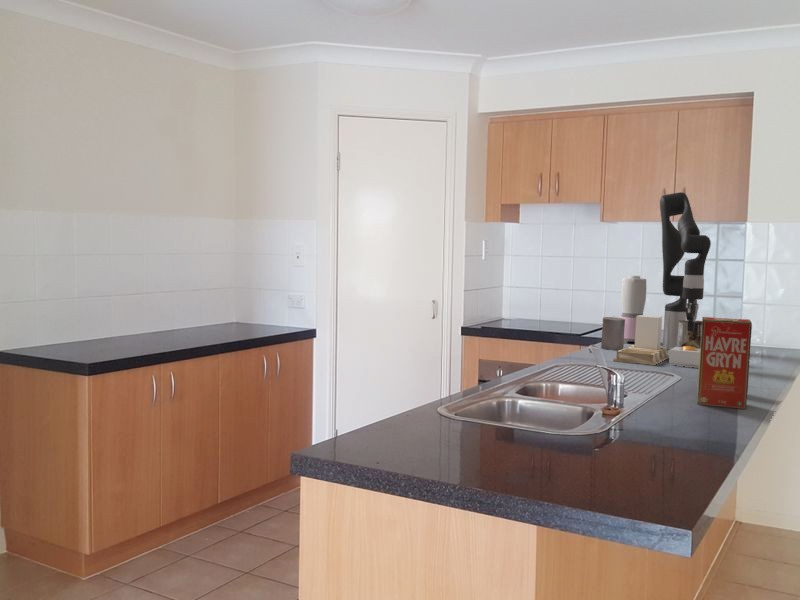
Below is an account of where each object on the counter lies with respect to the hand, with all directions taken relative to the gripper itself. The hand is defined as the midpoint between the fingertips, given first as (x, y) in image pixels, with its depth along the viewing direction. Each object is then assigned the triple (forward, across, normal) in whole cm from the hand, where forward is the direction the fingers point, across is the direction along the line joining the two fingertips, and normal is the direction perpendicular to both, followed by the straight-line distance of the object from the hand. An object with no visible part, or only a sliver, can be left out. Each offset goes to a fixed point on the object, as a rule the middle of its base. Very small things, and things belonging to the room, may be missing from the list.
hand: (690, 331), depth 294 cm
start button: (+11, 0, 0) cm, 11 cm away
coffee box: (+14, -14, -2) cm, 19 cm away
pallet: (+13, -2, -18) cm, 23 cm away
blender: (+14, -57, -37) cm, 69 cm away
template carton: (+14, -9, -18) cm, 24 cm away
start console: (+13, 0, 0) cm, 13 cm away
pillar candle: (+14, -26, -37) cm, 47 cm away
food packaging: (+13, +74, +22) cm, 79 cm away
